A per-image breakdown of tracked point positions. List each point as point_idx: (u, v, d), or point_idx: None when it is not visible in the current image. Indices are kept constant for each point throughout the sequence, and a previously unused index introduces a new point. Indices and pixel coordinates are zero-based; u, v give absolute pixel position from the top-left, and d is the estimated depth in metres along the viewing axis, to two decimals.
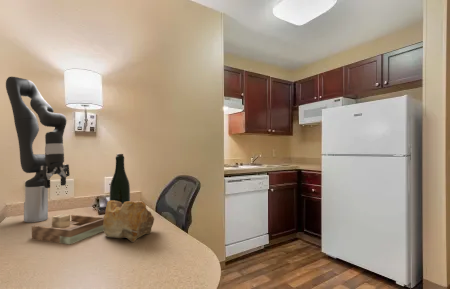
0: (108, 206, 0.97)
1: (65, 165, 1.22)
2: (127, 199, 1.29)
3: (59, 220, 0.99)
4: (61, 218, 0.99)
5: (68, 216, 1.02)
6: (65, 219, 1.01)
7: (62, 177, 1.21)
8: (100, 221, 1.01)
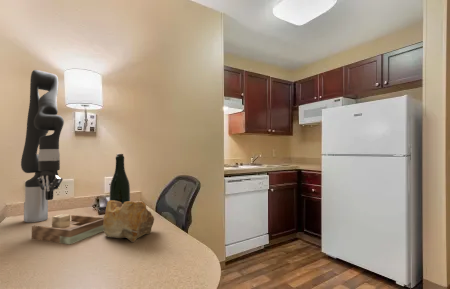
0: (108, 206, 0.97)
1: None
2: (127, 199, 1.29)
3: (59, 220, 0.99)
4: (61, 218, 0.99)
5: (68, 216, 1.02)
6: (65, 219, 1.01)
7: None
8: (100, 221, 1.01)
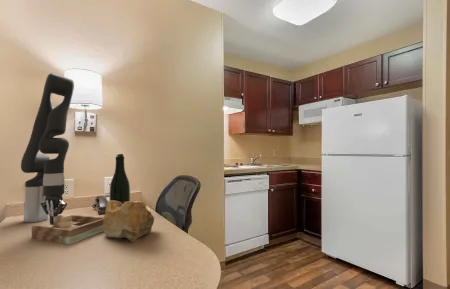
0: (108, 206, 0.97)
1: (46, 201, 1.05)
2: (127, 199, 1.29)
3: (60, 220, 0.99)
4: (62, 218, 0.99)
5: (69, 216, 1.02)
6: (66, 219, 1.01)
7: None
8: (100, 221, 1.01)
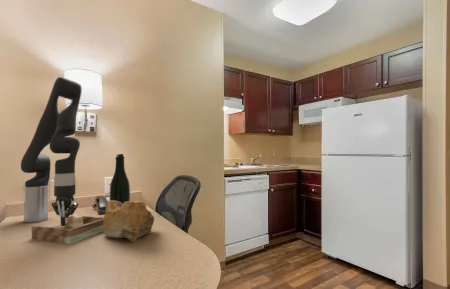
0: (108, 206, 0.97)
1: None
2: (127, 199, 1.29)
3: (72, 221, 0.97)
4: (74, 219, 0.97)
5: (81, 217, 1.00)
6: (78, 220, 0.99)
7: None
8: (100, 221, 1.01)
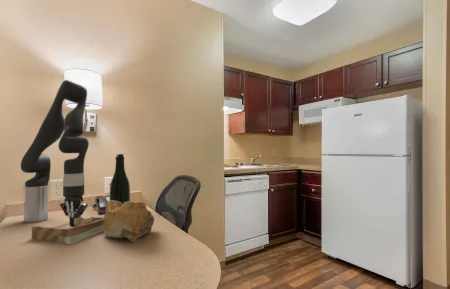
0: (108, 206, 0.97)
1: None
2: (127, 199, 1.29)
3: (82, 222, 0.96)
4: (84, 220, 0.96)
5: (90, 218, 0.99)
6: (87, 221, 0.98)
7: None
8: (100, 221, 1.01)
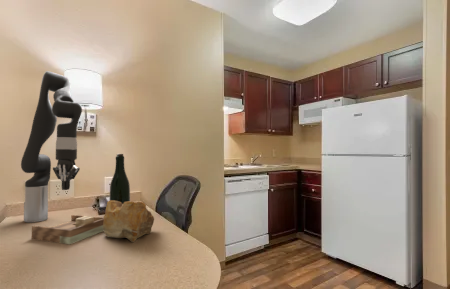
0: (108, 206, 0.97)
1: None
2: (127, 199, 1.29)
3: (83, 222, 0.95)
4: (85, 220, 0.96)
5: (92, 218, 0.99)
6: (89, 221, 0.97)
7: None
8: (100, 221, 1.01)
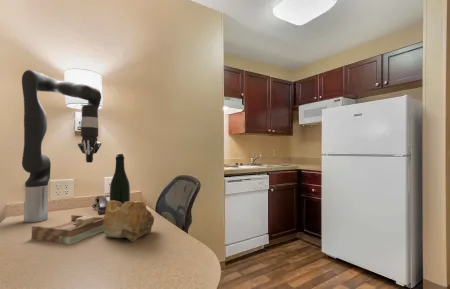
0: (108, 206, 0.97)
1: None
2: (127, 199, 1.29)
3: (83, 222, 0.95)
4: (85, 220, 0.96)
5: (92, 218, 0.99)
6: (89, 221, 0.97)
7: None
8: (100, 221, 1.01)
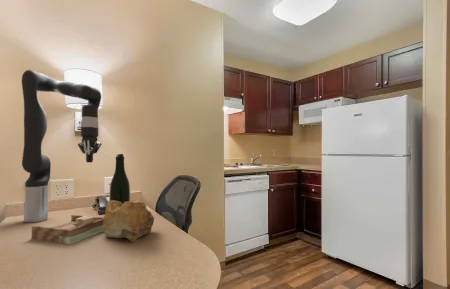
0: (108, 206, 0.97)
1: None
2: (127, 199, 1.29)
3: (83, 222, 0.95)
4: (85, 220, 0.96)
5: (92, 218, 0.99)
6: (89, 221, 0.97)
7: None
8: (100, 221, 1.01)
